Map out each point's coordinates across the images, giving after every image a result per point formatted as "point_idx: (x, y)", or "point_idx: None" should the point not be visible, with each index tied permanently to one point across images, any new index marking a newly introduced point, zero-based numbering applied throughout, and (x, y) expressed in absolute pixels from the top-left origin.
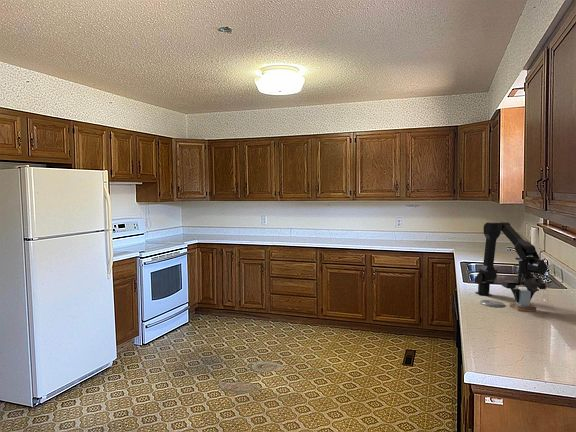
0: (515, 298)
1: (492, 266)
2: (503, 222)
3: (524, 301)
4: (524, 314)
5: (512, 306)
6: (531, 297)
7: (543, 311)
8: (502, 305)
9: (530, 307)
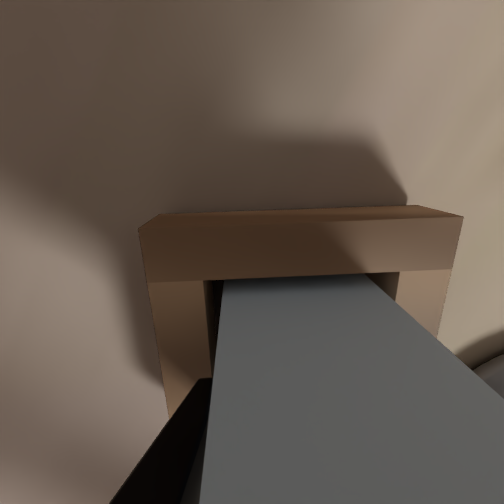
0: None
1: None
2: None
3: (345, 337)
4: (425, 35)
5: None
6: (139, 480)
7: (45, 239)
8: (498, 376)
9: (249, 221)
